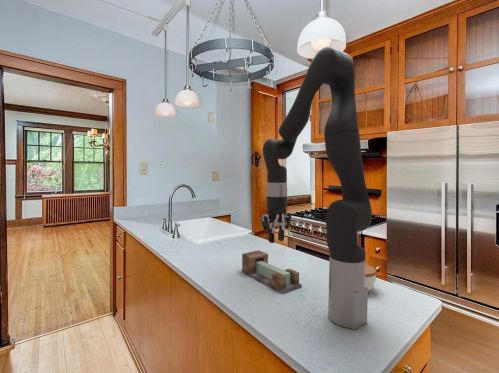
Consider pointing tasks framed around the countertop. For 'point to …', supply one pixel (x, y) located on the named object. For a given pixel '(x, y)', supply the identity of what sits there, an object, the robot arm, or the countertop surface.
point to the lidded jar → (370, 276)
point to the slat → (270, 270)
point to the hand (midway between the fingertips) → (276, 241)
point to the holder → (277, 279)
